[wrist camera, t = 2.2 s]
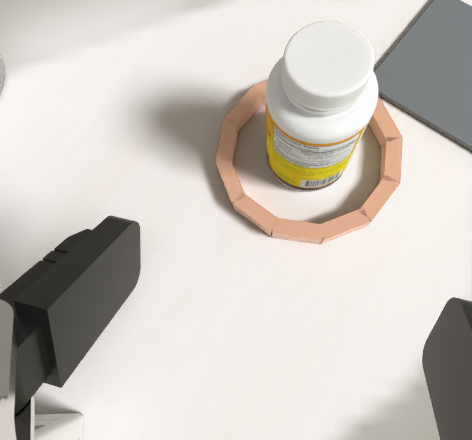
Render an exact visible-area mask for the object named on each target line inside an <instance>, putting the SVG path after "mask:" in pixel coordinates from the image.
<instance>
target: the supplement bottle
mask: <svg viewBox="0 0 472 440" xmlns="http://www.w3.org/2000/svg"><path fill="white" fill-rule="evenodd" d="M373 67H374V52H373V49H372V46H371V44H370V42H369V40H368V39H367V38H366V36H365V35H364V34H363V33H362V32H360V31H359V30H358V29H356V28H354V27H353V26H351V25H348V24H345V23H342V22H337V21H321V22H316V23H313V24H310V25H307V26H305V27H304V28H302V29H300V30H299V31H298V32H297V33H295V34H294V35H293V36H292V38H291V39H290V40H289V42H288V44H287V46H286V48H285V51H284V56H283V57H282V58H281V59H280V60H279V61H278V62H277V63H276V65H275V66H274V67H273V69H272V71H271V73H270V75H269V78H268V81H267V85H266V145H267V146H266V149H267V160H268V164H269V167H270V169H271V171H272V173H273V174H274V176H275V177H276V178H277V179H278V180H279V181H280V182H281V183H283V184H284V185H286V186H287V187H289V188H292V189H294V190H298V191H305V192H311V191H318V190H321V189H324V188H326V187H328V186H330V185H332V184H333V183H335V182H336V181H337V180H338V179H339V178H340V177H341V175H342V174H343V173H344V171H345V169H346V167H347V165H348V163H349V161H350V159H351V157H352V155H353V153H354V151H355V149H356V147H357V145H358V143H359V141H360V139H361V137H362V135H363V133H364V131H365V129H366V127H367V125H368V123H369V121H370V119H371V117H372V115H373V113H374V110H375V108H376V105H377V101H378V83H377V79H376V76H375V73H374V71H373Z"/></svg>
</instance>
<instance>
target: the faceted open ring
mask: <svg viewBox="0 0 472 440" xmlns="http://www.w3.org/2000/svg"><path fill="white" fill-rule="evenodd" d="M267 81H268V80H267ZM267 81H265V82H262V83H259V84H257V85H254V86H253V87H251V88H250V89H249V90H248V92H247V93H246V94H245V95H244V96H243V97H242V98H241V99H240V101H239V102H238V103H237V104H236V105H235V106H234V107H233V108H232V109H231V111H230V112H229V113H228V114H227V115H226V116H225V117H224V119H223V123H222V128H221V133H220V139H219V144H218V149H217V154H216V159H215V161H216V165H217V168H218V171H219V173H220V176H221V178H222V181H223V183H224V186H225V189H226V191H227V194H228V196H229V199H230V201H231V204H232V206H233V208H234V209H235V210H236V211H237V212H239V213H240V214H241V215H242V216H244V217H245V218H246V219H248V220H249V221H250V222H252V223H253V224H254V225H256V226H257V227H258V228H260V229H261V230H262V231H263V232H265V233H266V234H267V235H269V236H270V237H271V235H272V238H280V239H287V240H294V241H301V242H308V243H315V244H320V243H321V244H322V243H325V242H328V241H330V240H333V239H335V238H338V237H340V236H343V235H345V234H348V233H351V232H353V231H356V230H358V229H361V228H363V227H366V226H367V225H368V224H369V223H370V222H371V221H372V220H373V218H374V217H375V216H376V214H377V213H378V212H379V210H380V209H381V208H382V206H383V205H384V204H385V202H386V201H387V200H388V198H389V197H390V196H391V195H392V193H393V192H394V191H395V189H396V188H397V187H398V185H399V184H400V178H401V159H402V140H403V138H402V135H401V134H400V132H399V130H398V129H397V127H396V125H395V123H394V122H393V120H392V118H391V116H390V115H389V113H388V111H387V109H386V108H385V106H384V104H383V102H382V101H381V99H379V97H378V99H379V100H378V101H377V105H376V108H375V110H374V113H373V115H372V117H371V119H370V121H369V123H368V124H369V126H370V128H371V130H372V132H373V134H374V135H375V137H376V139H377V141H378V143H379V144H380V146H381V160H380V175H379V184H378V186H377V187H376V188H375V190H374V191H373V192H372V194H371V195H370V196H369V197H368V199H367V200H366V201H365V203H364V204H363V205H362V207H361V208H360V209H358V210H355V211H353V212H350V213H348V214H345V215H343V216H340V217H337V218H335V219H332V220H330V221H327V222H325V223H322V224H316V223H309V222H301V221H294V220H286V219H279V218H277V217H275V216H274V215H273V214H271V213H270V212H269V211H267V210H266V209H264V208H263V207H262V206H260V205H259V204H258V203H256V202H255V201H254V200H252V199H251V198H250V197H248V196H247V195H246V194H245V193H244V191H243V188H242V186H241V183H240V181H239V178H238V176H237V174H236V171H235V169H234V166H233V158H234V153H235V147H236V141H237V136H238V132H239V131H240V130H241V128H242V127H243V126H244V125H245V124H246V123H247V122H248V120H249V119H250V118H251V117H252V116H253V115H254V114H255V112H256V111H257V110H258V109H259V108H260V107H261V106H262V105H265V104H266V85H267Z"/></svg>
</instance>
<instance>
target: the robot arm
mask: <svg viewBox="0 0 472 440" xmlns="http://www.w3.org/2000/svg"><path fill="white" fill-rule="evenodd" d="M4 80H5V68H4V63H3V60H2V58H1V55H0V94H1V91H2V88H3V86H4ZM139 274H140V226H139V223H138V222H136V221H132V220H127V219H123V218H119V217H115V216H108V217H107V218H106V219H104V220H103V221H102V222H101V223H100V224H99V225H98V226H97V227H95V228H94V229H93V230H90V229H86V230H83V231H81V232H79V233H76V234H74V235H72V236H69V237H68V238H67V239H65V240H64V241H63V242H62V243H61V244H59V245H58V246H57V247H56V248H55V250H54V251H51V252H50V253H49V254H47V255H46V256H45V257H44V258H43V260H42V261H39V262H38V263H37V264H35V265H34V266H33V267H32V268H31V269H29V270H28V271H27V272H26V273H25V274H23V275H22V276H21V277H20V278H19V279H18V280H16V281H15V282H14V283H13V284H12V285H10V286H9V287H8V288H7V289H6V290H4V291H3V292H2V293H1V294H0V440H34V425H35V401H34V394H35V392H36V391H37V390H38V389H39V387H40V386H41V385H42V384H43V382H44V383H47V384H51V385H54V386H57V387H60V388H61V387H62V386H63V385H64V383H65V382H66V381H67V379H68V378H69V377H70V375H71V374H72V373H73V371H74V370H75V368H76V367H77V366H78V364H79V363H80V362H81V360H82V359H83V358H84V356H85V355H86V353H87V352H88V351H89V349H90V348H91V347H92V345H93V344H94V343H95V341H96V340H97V339H98V337H99V336H100V334H101V333H102V332H103V330H104V329H105V328H106V326H107V325H108V324H109V322H110V321H111V319H112V318H113V317H114V315H115V314H116V313H117V311H118V310H119V309H120V307H121V306H122V304H123V303H124V302H125V300H126V299H127V298H128V296H129V295H130V294H131V292H132V291H133V289H134V288H135V286H136V284H137V281H138V278H139ZM422 362H423V369H424V373H425V377H426V382H427V386H428V390H429V394H430V398H431V402H432V407H433V411H434V415H435V419H436V423H437V428H438V432H439V436H440V440H472V301H467V300H463V299H459V298H451V299H450V300H449V301H448V302H447V303H446V305H445V307H444V309H443V311H442V312H441V314H440V316H439V318H438V320H437V322H436V324H435V325H434V327H433V329H432V331H431V333H430V335H429V337H428V338H427V340H426V343H425V345H424V349H423V357H422Z"/></svg>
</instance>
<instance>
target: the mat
mask: <svg viewBox="0 0 472 440" xmlns="http://www.w3.org/2000/svg"><path fill="white" fill-rule="evenodd" d="M374 73H375V76H376V79H377V83H378V95H379V96H381V97H382V98H384V99H386V100H387V101H389V102H391V103H392V104H394V105H396V106H397V107H399V108H401V109H402V110H404V111H406V112H407V113H409V114H410V115H412V116H414V117H415V118H417V119H419V120H420V121H422V122H424V123H425V124H427V125H429V126H430V127H432V128H434V129H435V130H437V131H439V132H440V133H442V134H444V135H445V136H447V137H449V138H450V139H452V140H454V141H455V142H457V143H459V144H460V145H462V146H464V147H465V148H467V149H469V150H470V151H472V6H470V5H468V4H466V3H464V2H462V1H460V0H433V2H432V3H431V4H430V5H429V7H428V8H427V9H426V10H425V11H424V13H423V14H422V15H421V16H420V17H419V19H418V20H417V21H416V22H415V24H414V25H413V26H412V27H411V28H410V30H409V31H408V32H407V33H406V34H405V36H404V37H403V38H402V39H401V41H400V42H399V43H398V44H397V45H396V47H395V48H394V49H393V50H392V51H391V53H390V54H389V55H388V56H387V58H386V59H385V60H384V61H383V62H382V64H381V65H380V66H379V67H378V69H377V70H376V71H375V72H374Z"/></svg>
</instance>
